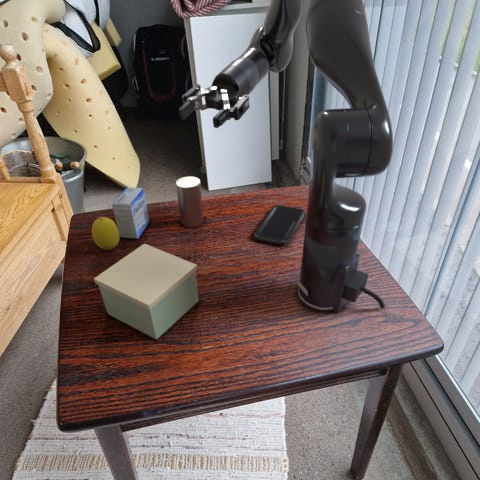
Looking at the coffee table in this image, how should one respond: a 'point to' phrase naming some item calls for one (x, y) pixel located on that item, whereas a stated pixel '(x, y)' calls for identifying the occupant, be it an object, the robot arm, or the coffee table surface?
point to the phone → (279, 225)
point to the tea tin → (190, 201)
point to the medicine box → (131, 212)
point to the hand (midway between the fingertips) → (197, 119)
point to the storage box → (149, 289)
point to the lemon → (105, 233)
